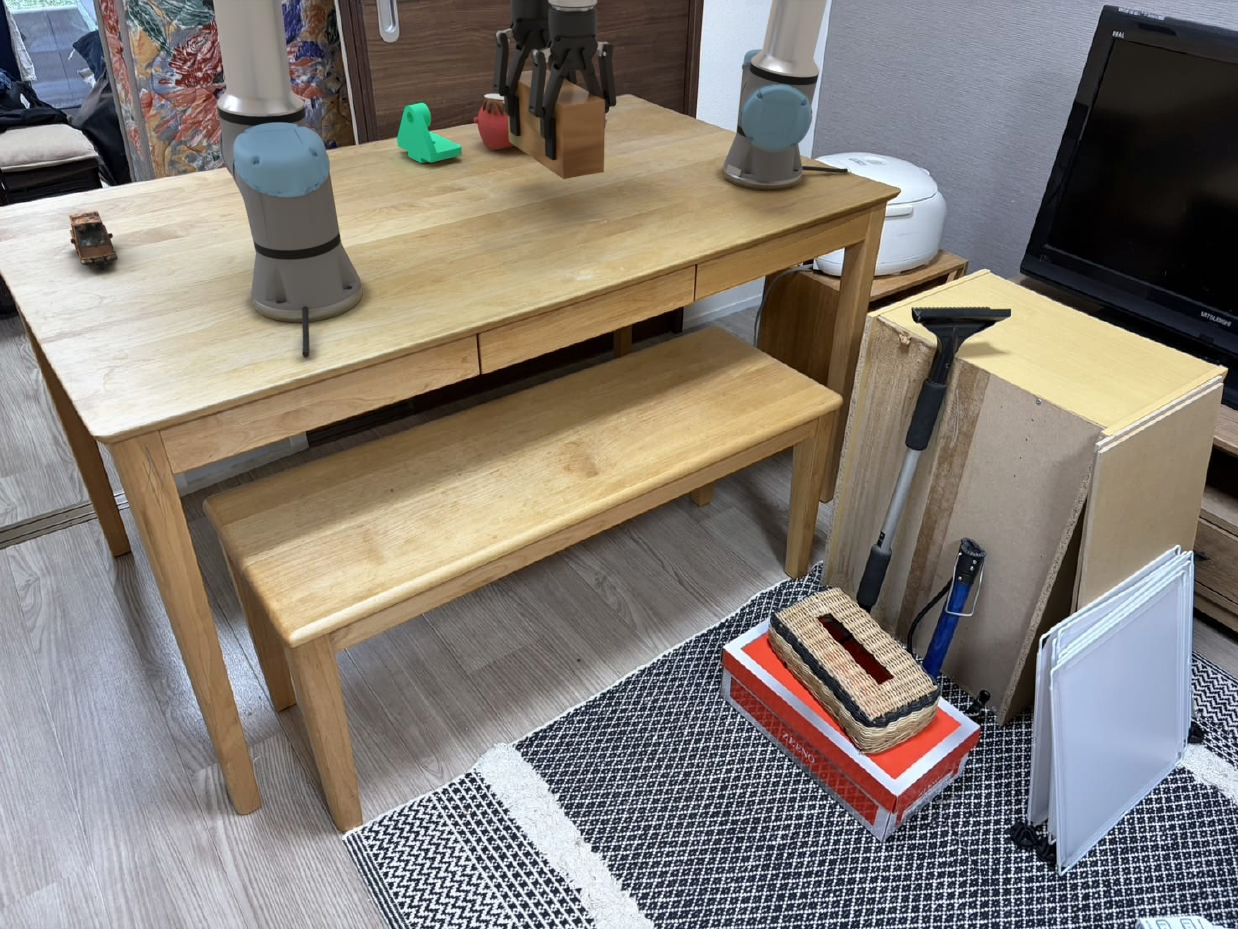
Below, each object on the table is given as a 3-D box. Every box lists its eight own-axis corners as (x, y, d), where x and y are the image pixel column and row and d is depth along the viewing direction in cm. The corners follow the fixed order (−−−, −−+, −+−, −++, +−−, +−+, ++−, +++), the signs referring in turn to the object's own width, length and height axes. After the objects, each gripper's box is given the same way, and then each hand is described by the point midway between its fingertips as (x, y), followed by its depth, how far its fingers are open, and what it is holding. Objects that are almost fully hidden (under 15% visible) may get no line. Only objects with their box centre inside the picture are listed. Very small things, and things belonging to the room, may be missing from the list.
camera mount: (464, 159, 183) (460, 106, 177) (431, 168, 179) (426, 113, 173) (430, 144, 190) (425, 92, 184) (398, 151, 186) (392, 98, 180)
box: (604, 172, 157) (605, 100, 150) (563, 179, 154) (562, 106, 147) (547, 135, 172) (545, 68, 165) (508, 141, 168) (505, 73, 161)
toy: (626, 100, 192) (495, 101, 177) (622, 150, 197) (495, 156, 182) (581, 87, 205) (455, 87, 190) (578, 134, 210) (456, 138, 195)
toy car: (108, 240, 149) (95, 198, 145) (131, 265, 142) (117, 222, 137) (65, 249, 146) (50, 207, 141) (86, 276, 138) (71, 232, 134)
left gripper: (618, -4, 150) (614, 139, 163) (501, 6, 141) (508, 156, 155) (642, 5, 144) (636, 151, 158) (522, 16, 136) (527, 170, 150)
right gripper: (577, -19, 159) (577, 117, 173) (465, -10, 151) (475, 132, 164) (598, -11, 154) (597, 128, 168) (484, -1, 145) (492, 144, 159)
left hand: (573, 153), depth 156 cm, fingers closed on box, 8 cm apart
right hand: (536, 130), depth 166 cm, fingers closed on box, 8 cm apart
